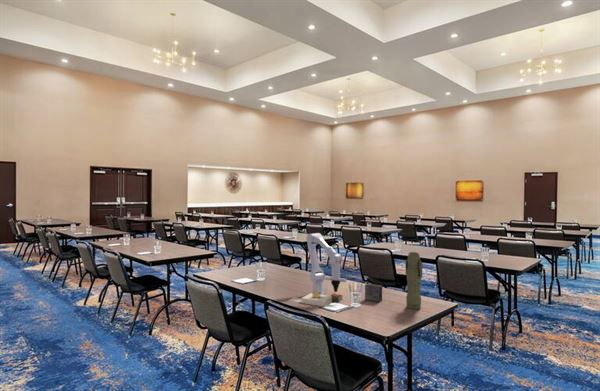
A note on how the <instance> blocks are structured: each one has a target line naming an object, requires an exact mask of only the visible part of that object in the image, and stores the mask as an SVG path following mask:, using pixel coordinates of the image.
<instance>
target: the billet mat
mask: <svg viewBox="0 0 600 391" xmlns="http://www.w3.org/2000/svg"><path fill="white" fill-rule="evenodd" d="M302 298H303V297H296V296H294V297H292V298H289V299H288V301H290V302H295V303H296V302H297V303H302Z"/></svg>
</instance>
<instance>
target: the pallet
mask: <svg viewBox="0 0 600 391" xmlns="http://www.w3.org/2000/svg"><path fill="white" fill-rule="evenodd" d="M301 298H302V301H301V303H302V304H306V305H314V306H318V307H319V306H320V307H321V306H324V307H326V306H328V305H329V304H330V303H332V302H333V301H332V296H330V295H326V294H323V295H320V298H319V299H318V298H313V292H311V293H308V294H306V295H304V296H302V297H301ZM325 305H326V306H325Z"/></svg>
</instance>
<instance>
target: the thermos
mask: <svg viewBox="0 0 600 391" xmlns="http://www.w3.org/2000/svg"><path fill="white" fill-rule="evenodd" d="M420 256H421V255H420V254H419V252H415V251H414V252H413V251H411V252H409V253H408V255H407V259H406V260H405V275H406V280H407V281H406V282H407V284H406V285H407V288H406V289H407V291H406V292H407V293H406V301H405V302H406V308H407V309H409V310H420V309H421V308H422V306H421V305H422V296H421V281H422V278H423V262H422V261H421V257H420Z"/></svg>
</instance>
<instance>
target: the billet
mask: <svg viewBox="0 0 600 391" xmlns="http://www.w3.org/2000/svg"><path fill="white" fill-rule="evenodd" d="M312 293H313V298H318V299H319V298H320V291H314V292H313V291H312Z"/></svg>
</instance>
